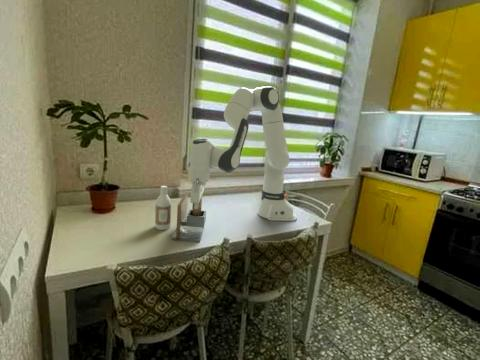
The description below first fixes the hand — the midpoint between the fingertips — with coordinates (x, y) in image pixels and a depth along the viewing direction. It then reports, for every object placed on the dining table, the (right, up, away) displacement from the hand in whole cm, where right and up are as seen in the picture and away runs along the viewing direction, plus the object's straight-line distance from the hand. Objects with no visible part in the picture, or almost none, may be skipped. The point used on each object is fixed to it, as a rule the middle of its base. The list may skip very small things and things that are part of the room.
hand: (197, 206), depth 125 cm
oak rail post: (-1, -5, +1) cm, 6 cm away
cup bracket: (-4, -13, +3) cm, 13 cm away
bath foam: (-17, -11, +6) cm, 21 cm away
